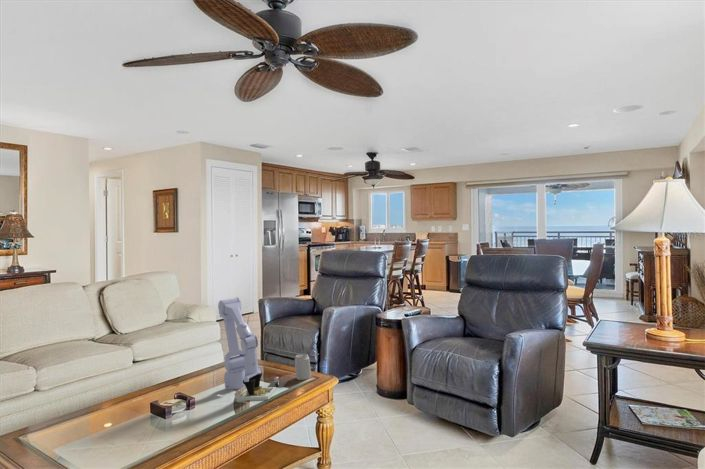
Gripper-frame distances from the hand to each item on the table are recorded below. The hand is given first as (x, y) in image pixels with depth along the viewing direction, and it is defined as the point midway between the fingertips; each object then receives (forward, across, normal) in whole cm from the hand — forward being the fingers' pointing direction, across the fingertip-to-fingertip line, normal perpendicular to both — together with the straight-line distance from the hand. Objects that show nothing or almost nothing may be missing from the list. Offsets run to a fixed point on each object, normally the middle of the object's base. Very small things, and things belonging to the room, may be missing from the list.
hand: (254, 392), depth 195 cm
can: (+2, +22, -17) cm, 28 cm away
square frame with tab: (+1, 0, -2) cm, 2 cm away
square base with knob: (+2, +13, -6) cm, 15 cm away
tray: (+2, 0, -1) cm, 3 cm away
